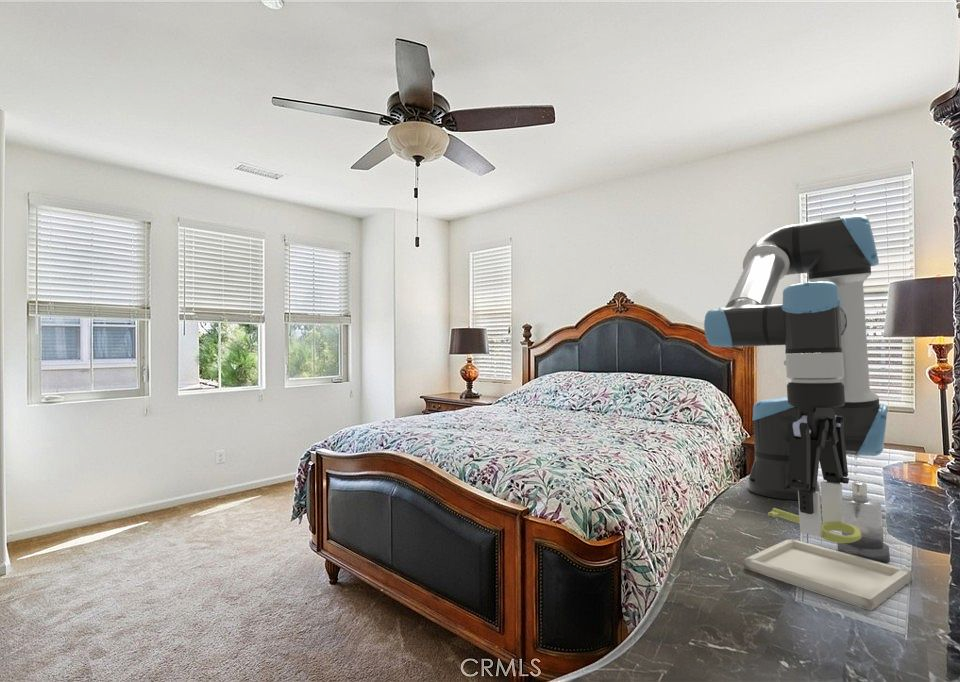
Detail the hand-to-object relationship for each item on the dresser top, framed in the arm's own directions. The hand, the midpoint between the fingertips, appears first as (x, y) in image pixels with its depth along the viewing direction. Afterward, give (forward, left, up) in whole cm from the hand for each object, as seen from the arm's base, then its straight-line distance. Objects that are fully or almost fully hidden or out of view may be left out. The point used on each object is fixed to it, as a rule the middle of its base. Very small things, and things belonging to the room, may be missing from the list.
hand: (822, 528), depth 78 cm
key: (0, -1, -1) cm, 1 cm away
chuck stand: (-13, 0, -7) cm, 15 cm away
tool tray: (0, 0, -7) cm, 7 cm away
